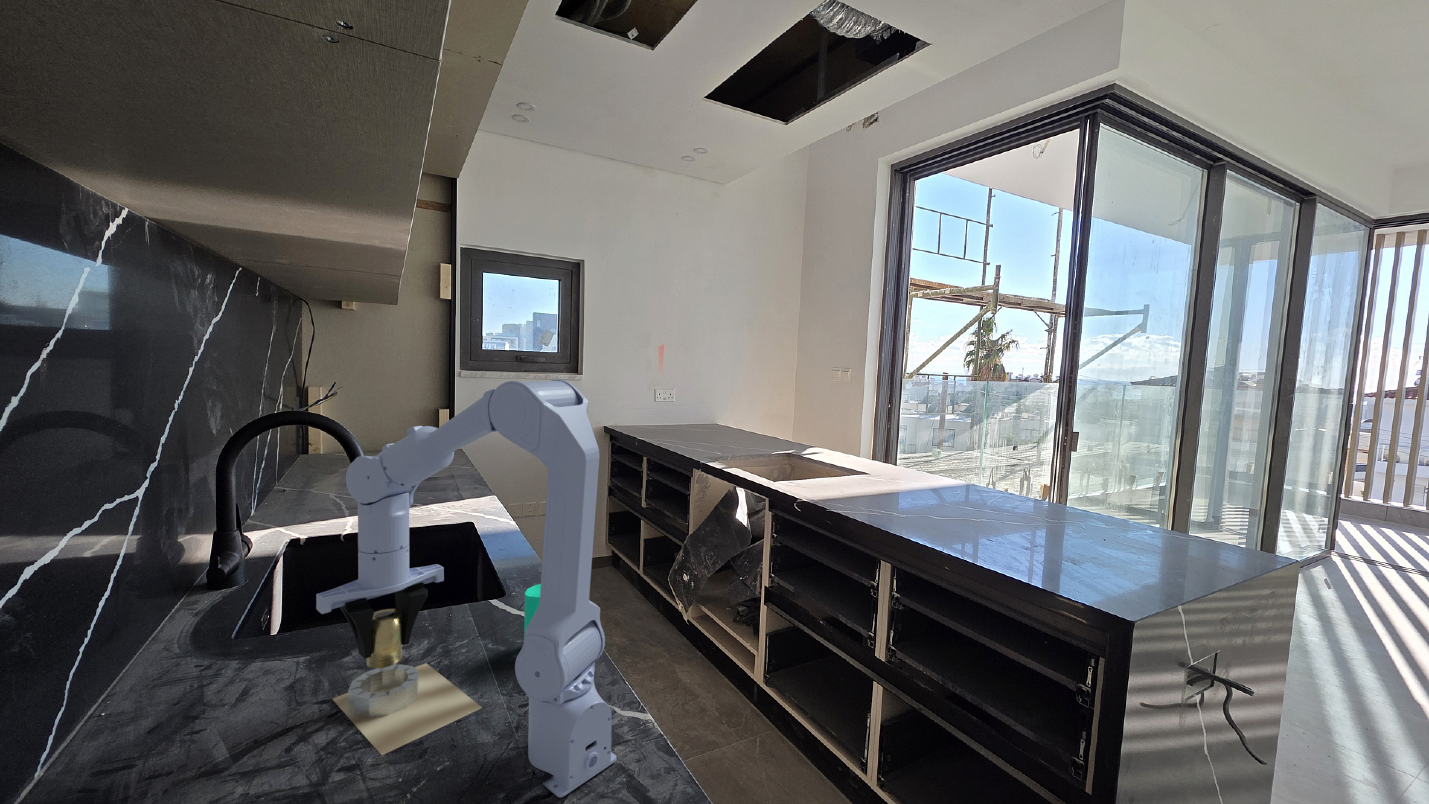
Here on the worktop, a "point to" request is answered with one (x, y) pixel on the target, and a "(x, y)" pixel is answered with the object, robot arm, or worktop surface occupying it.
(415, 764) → the worktop surface
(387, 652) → the brass sleeve
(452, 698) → the jig plate
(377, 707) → the bore collar
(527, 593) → the candle
